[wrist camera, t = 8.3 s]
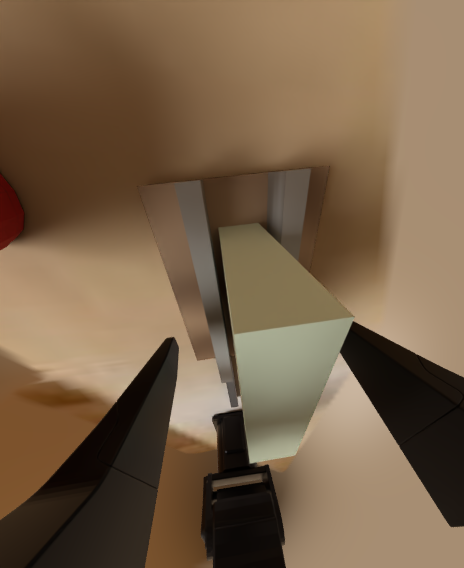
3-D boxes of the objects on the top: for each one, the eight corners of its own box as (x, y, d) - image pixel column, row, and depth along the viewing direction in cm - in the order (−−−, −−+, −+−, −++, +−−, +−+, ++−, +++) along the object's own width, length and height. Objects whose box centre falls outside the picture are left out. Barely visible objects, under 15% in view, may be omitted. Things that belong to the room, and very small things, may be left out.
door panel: (258, 334, 15) (295, 455, 9) (232, 338, 15) (249, 463, 9) (258, 222, 10) (355, 316, 3) (218, 227, 10) (234, 334, 3)
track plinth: (289, 334, 18) (307, 369, 15) (198, 347, 18) (195, 387, 14) (314, 166, 10) (367, 162, 7) (146, 185, 10) (112, 189, 6)
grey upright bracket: (266, 392, 25) (268, 401, 24) (230, 398, 25) (231, 407, 24) (268, 345, 19) (272, 355, 18) (221, 353, 19) (222, 362, 18)
